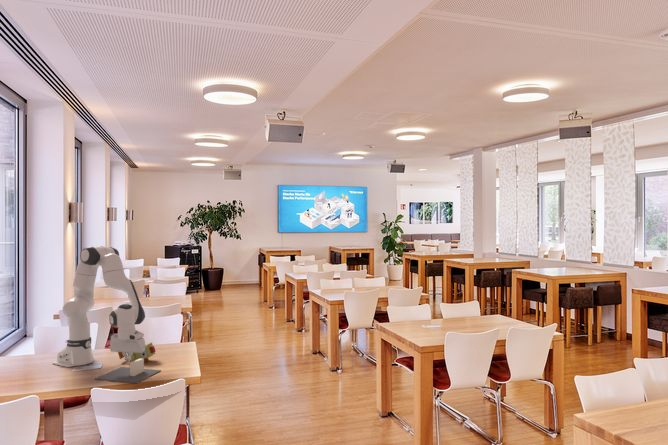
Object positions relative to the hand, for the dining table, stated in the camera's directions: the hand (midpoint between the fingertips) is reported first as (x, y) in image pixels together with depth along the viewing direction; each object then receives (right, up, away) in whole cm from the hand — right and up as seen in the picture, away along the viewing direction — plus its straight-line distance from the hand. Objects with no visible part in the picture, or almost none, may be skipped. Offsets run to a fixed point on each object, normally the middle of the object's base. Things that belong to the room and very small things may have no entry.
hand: (128, 360), depth 265 cm
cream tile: (+6, -7, -2) cm, 9 cm away
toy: (-4, -7, +22) cm, 24 cm away
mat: (+2, -7, -3) cm, 8 cm away
